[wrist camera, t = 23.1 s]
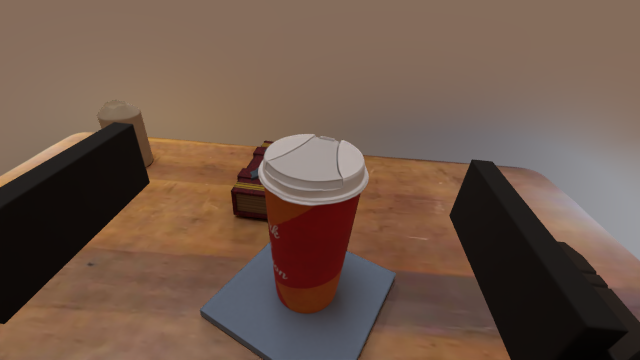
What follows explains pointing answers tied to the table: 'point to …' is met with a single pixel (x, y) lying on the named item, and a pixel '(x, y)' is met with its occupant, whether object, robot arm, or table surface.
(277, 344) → the cup mat
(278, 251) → the coffee cup
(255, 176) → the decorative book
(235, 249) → the table surface
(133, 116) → the candle
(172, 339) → the table surface
